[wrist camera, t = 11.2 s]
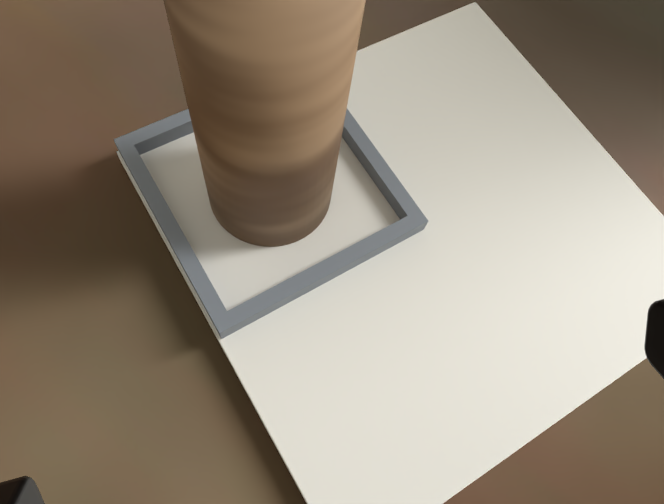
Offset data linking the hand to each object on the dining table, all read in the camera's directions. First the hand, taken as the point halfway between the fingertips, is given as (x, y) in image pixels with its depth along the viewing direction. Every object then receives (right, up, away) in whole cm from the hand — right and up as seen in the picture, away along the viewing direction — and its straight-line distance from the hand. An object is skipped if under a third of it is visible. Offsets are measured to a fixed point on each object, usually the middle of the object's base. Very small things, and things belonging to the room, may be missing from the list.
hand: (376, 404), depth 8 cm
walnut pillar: (-3, +5, +16) cm, 17 cm away
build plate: (+3, +3, +17) cm, 17 cm away
